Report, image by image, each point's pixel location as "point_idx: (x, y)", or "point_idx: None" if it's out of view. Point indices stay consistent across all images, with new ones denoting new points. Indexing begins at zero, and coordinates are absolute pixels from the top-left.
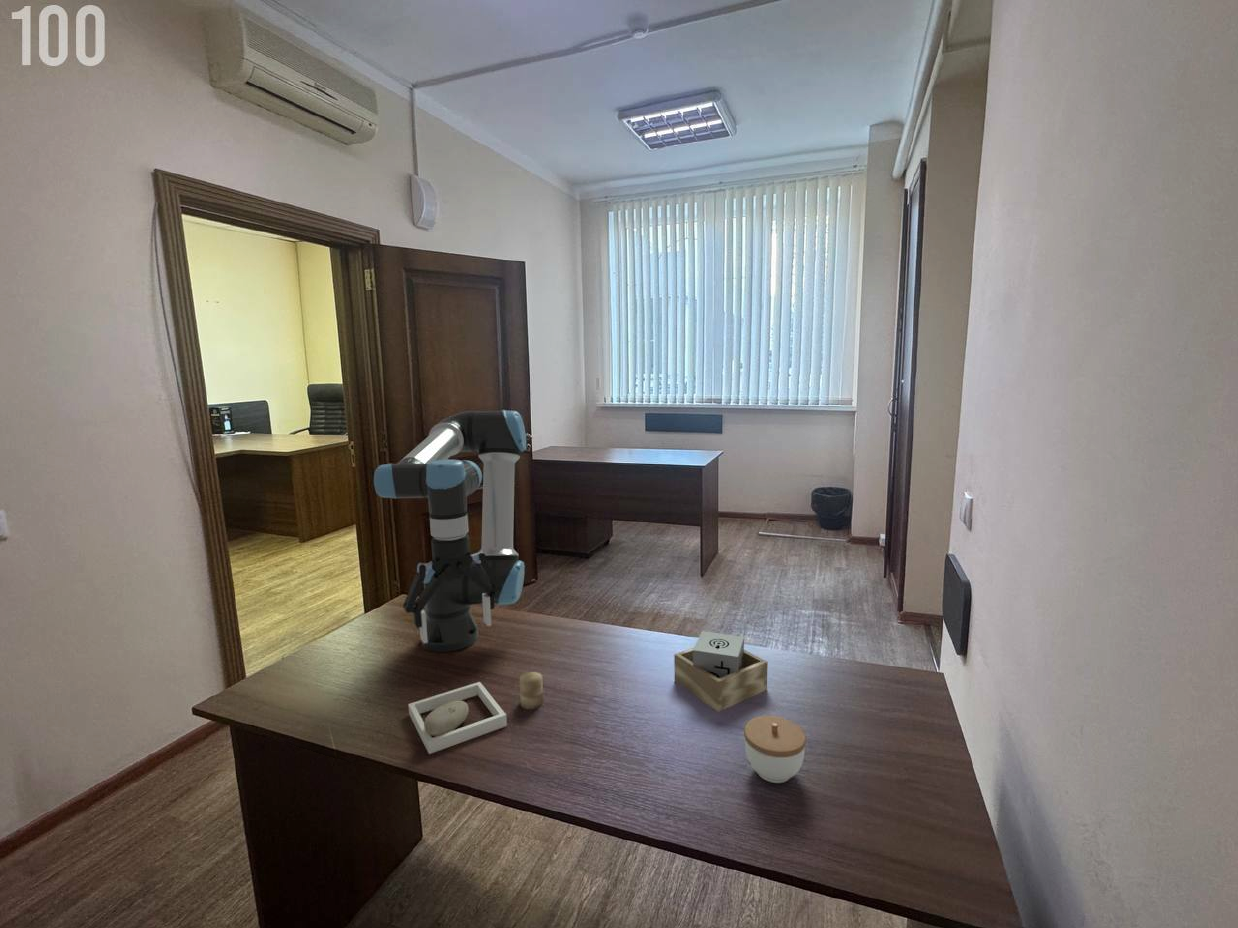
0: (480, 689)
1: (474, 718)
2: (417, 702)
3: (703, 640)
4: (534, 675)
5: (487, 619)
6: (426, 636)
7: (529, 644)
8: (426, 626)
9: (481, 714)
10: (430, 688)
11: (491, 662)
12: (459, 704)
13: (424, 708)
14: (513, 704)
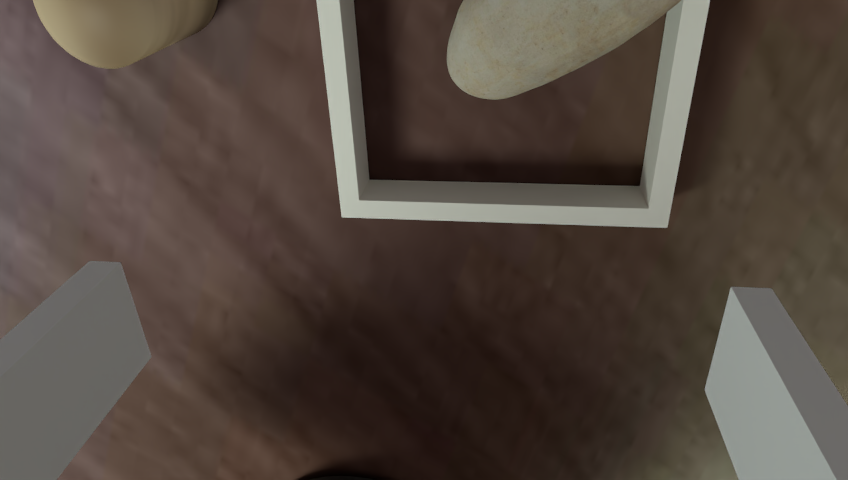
0: (355, 158)
1: (433, 12)
2: (630, 216)
3: None
4: (71, 16)
5: (83, 308)
6: (762, 329)
7: None
8: (803, 417)
9: (397, 25)
10: (517, 323)
11: (264, 354)
12: (501, 15)
13: (599, 192)
14: (248, 18)
